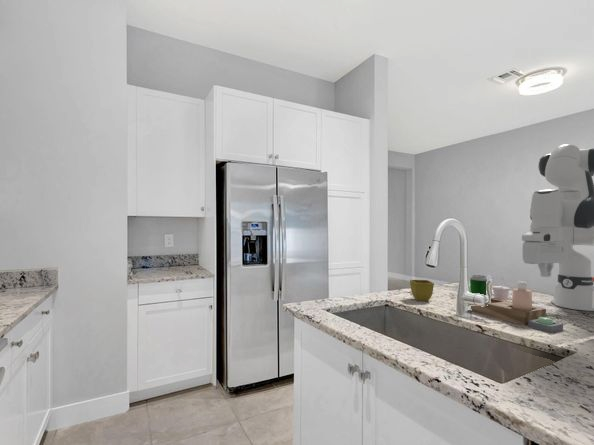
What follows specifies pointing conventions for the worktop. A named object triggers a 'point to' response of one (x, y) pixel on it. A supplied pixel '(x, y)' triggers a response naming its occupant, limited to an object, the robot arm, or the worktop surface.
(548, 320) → the button
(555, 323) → the button housing
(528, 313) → the pallet
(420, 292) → the flower pot
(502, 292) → the smoothie
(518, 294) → the bottle
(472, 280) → the soda can
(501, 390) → the worktop surface
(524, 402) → the worktop surface
